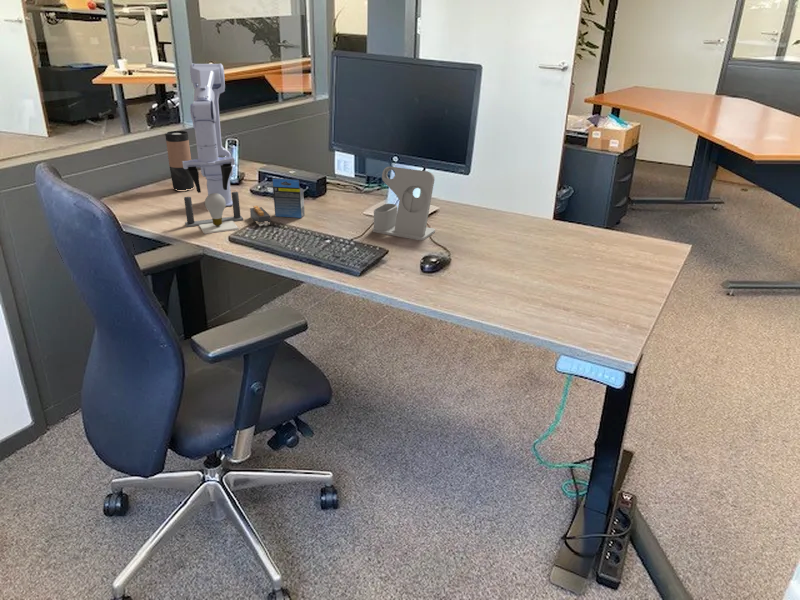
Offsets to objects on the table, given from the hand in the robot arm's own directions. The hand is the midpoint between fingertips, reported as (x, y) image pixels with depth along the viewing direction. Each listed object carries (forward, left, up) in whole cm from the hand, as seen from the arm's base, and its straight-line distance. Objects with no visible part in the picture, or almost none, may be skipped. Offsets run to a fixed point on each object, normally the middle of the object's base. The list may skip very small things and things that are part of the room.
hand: (212, 190), depth 186 cm
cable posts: (-2, 0, -10) cm, 10 cm away
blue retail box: (+1, +23, -11) cm, 25 cm away
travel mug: (-45, -2, -11) cm, 46 cm away
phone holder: (+30, +49, -11) cm, 58 cm away
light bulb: (+4, 0, -10) cm, 11 cm away
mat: (+4, 0, -10) cm, 11 cm away
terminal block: (+3, +13, -10) cm, 17 cm away
